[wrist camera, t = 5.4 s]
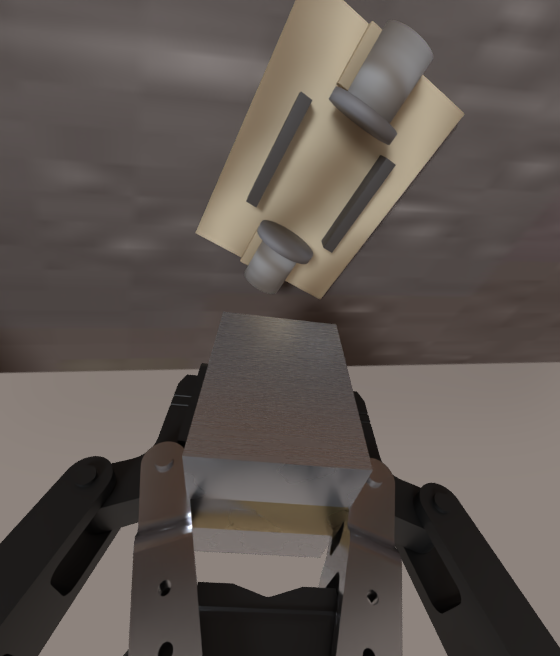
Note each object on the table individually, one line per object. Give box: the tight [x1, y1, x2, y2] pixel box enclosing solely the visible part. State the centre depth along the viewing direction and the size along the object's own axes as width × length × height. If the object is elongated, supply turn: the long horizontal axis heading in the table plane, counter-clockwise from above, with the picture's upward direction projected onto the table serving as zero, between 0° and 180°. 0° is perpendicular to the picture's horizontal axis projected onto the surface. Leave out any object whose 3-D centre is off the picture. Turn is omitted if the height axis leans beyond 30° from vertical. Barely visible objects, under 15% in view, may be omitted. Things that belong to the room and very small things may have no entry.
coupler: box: [182, 312, 373, 558], centre depth 11 cm, size 6×5×6 cm
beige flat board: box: [196, 0, 464, 299], centre depth 20 cm, size 12×16×6 cm
